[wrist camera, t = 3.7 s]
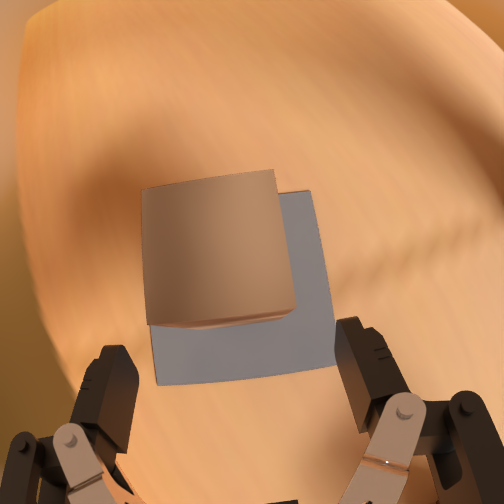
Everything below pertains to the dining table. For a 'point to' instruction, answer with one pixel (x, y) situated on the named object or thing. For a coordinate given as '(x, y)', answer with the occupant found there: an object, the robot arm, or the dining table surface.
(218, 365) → the tile
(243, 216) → the walnut block
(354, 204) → the dining table surface
